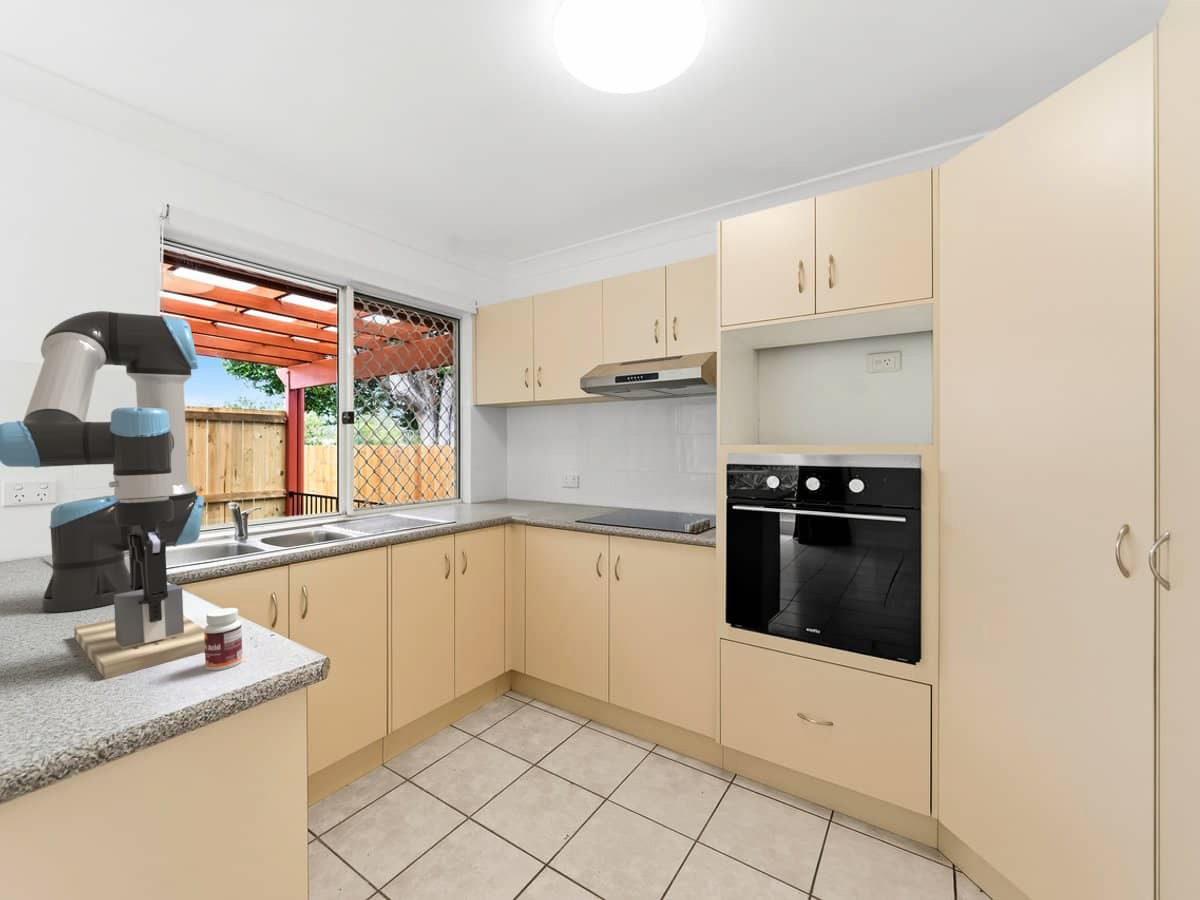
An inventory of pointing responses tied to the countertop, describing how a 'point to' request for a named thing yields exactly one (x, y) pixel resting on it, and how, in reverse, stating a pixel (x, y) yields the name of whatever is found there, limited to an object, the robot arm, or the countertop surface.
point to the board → (135, 648)
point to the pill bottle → (223, 639)
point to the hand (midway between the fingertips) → (150, 636)
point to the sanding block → (132, 616)
